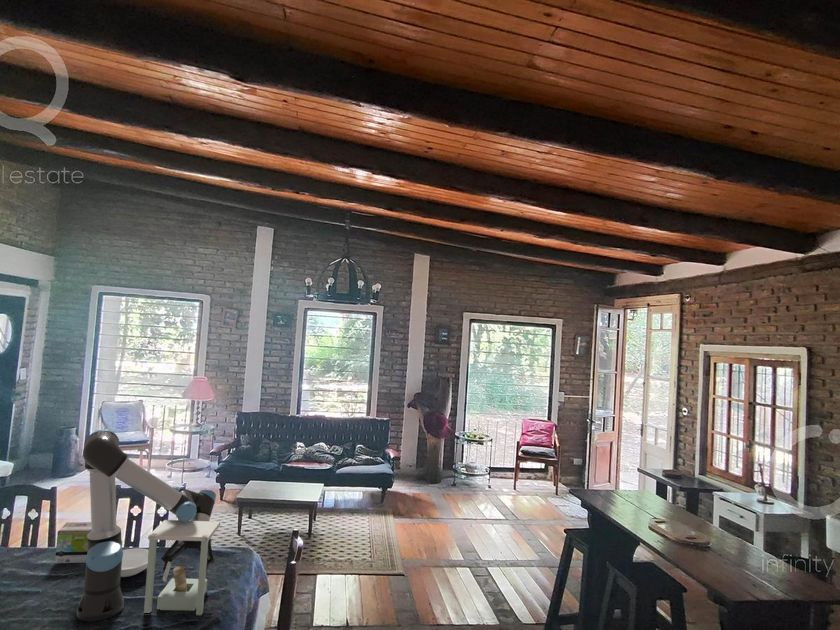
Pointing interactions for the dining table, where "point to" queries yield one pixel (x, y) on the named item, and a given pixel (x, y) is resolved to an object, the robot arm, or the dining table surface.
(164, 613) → the dining table surface
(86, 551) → the tea box
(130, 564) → the bowl
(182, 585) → the dowel
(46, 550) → the dining table surface
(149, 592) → the socket
